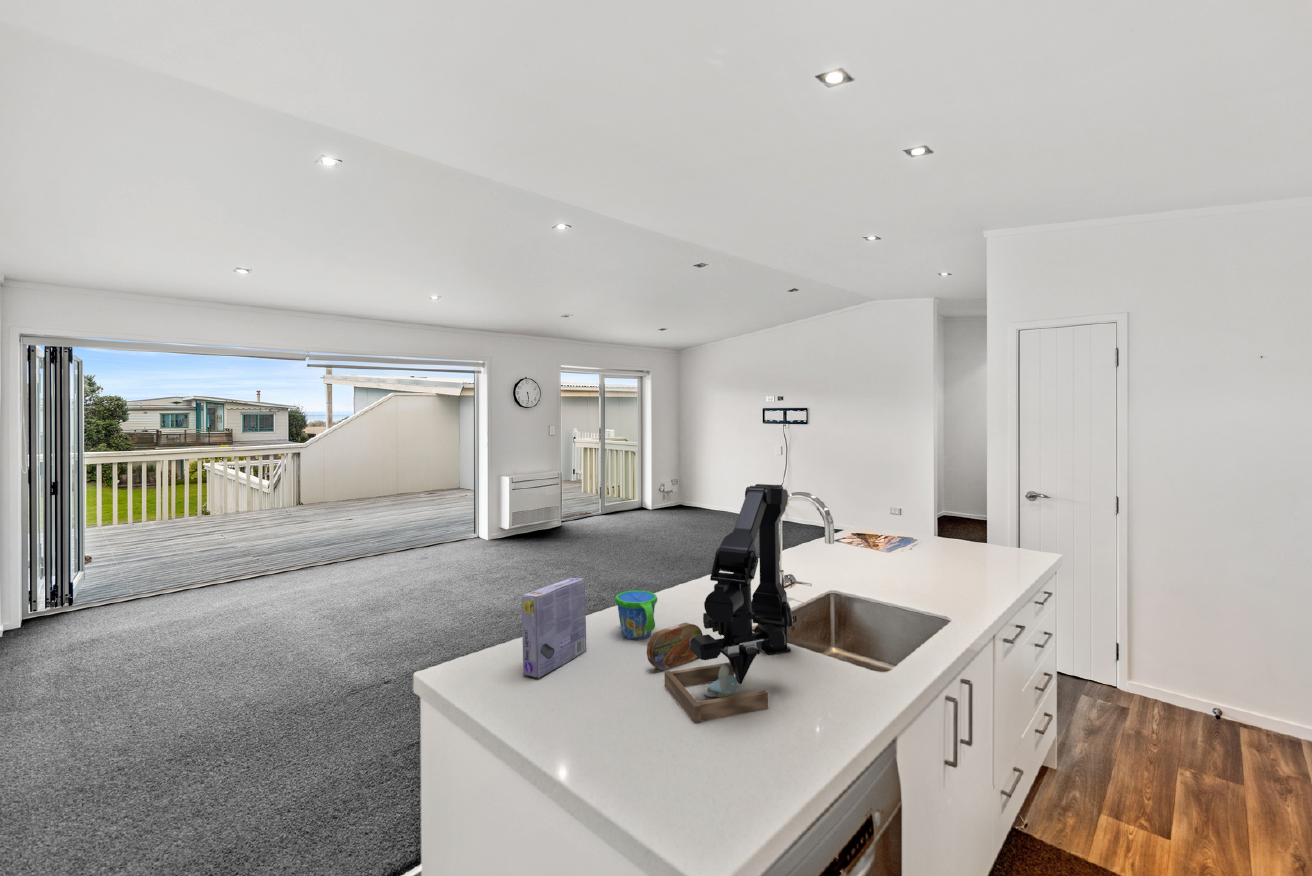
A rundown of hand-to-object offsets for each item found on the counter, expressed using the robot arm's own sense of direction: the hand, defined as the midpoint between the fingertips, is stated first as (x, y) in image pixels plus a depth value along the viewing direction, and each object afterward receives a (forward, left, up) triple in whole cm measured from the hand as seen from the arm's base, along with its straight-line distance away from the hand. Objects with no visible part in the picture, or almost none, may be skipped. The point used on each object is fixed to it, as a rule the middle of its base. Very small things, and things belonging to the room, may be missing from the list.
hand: (739, 683), depth 117 cm
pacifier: (+4, -1, -2) cm, 5 cm away
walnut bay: (+6, 0, -2) cm, 6 cm away
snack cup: (+10, -38, -2) cm, 39 cm away
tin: (+7, -18, -2) cm, 20 cm away
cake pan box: (+32, -28, -2) cm, 43 cm away
